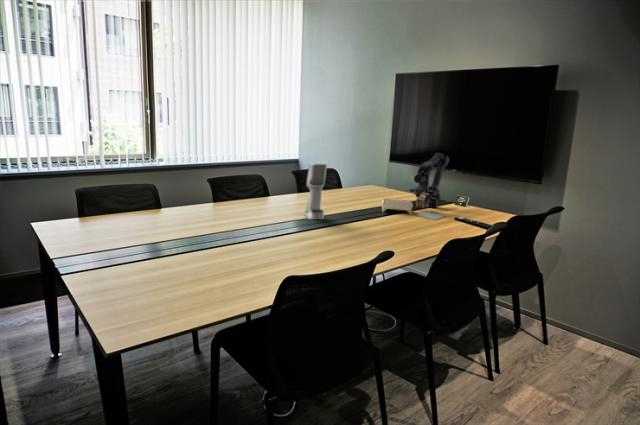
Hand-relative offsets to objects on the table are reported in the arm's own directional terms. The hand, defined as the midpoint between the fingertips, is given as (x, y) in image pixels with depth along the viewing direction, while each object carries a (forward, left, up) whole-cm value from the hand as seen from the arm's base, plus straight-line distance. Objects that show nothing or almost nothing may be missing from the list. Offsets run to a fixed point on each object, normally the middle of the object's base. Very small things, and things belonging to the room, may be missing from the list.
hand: (422, 203), depth 300 cm
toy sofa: (+17, -10, -6) cm, 21 cm away
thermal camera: (+74, -36, -6) cm, 82 cm away
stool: (0, 0, -3) cm, 3 cm away
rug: (+8, +12, -6) cm, 15 cm away
